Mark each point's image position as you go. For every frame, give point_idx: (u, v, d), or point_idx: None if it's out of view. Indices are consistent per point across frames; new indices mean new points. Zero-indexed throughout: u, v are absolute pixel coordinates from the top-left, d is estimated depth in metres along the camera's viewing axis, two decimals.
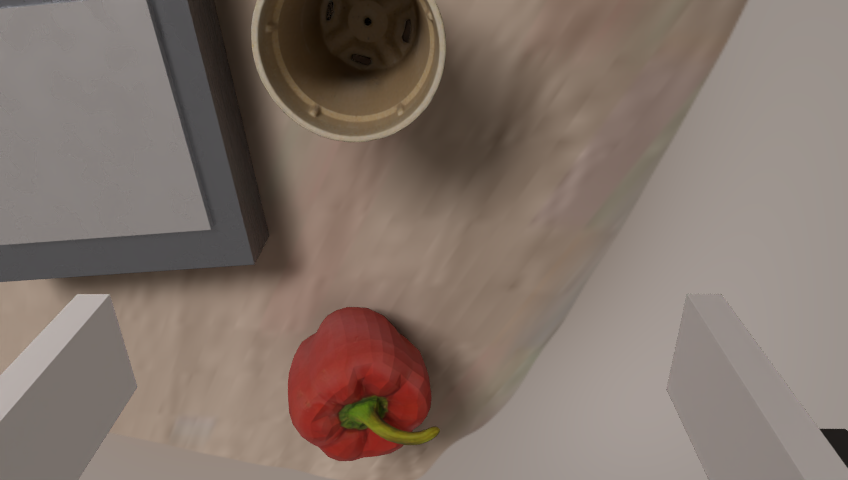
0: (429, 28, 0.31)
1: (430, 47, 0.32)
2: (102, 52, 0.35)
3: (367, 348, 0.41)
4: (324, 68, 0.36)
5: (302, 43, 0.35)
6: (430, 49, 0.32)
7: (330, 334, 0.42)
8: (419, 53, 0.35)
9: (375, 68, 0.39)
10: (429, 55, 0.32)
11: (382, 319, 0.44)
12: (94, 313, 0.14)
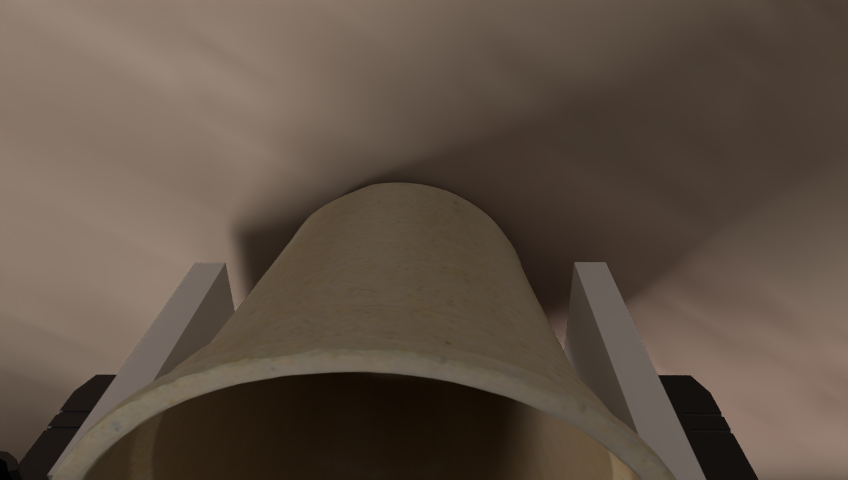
0: None
1: None
2: None
3: None
4: (483, 435, 0.15)
5: None
6: None
7: None
8: None
9: None
10: None
11: None
12: (216, 278, 0.15)
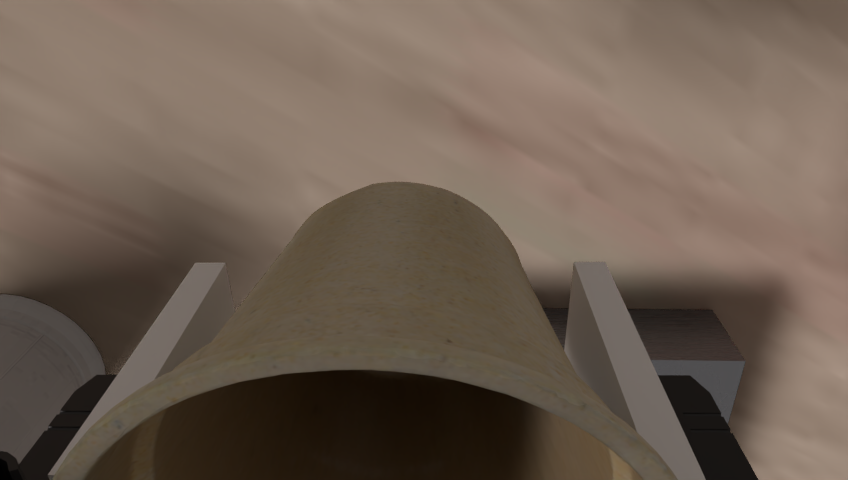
0: None
1: None
2: None
3: None
4: (484, 434, 0.15)
5: None
6: None
7: None
8: None
9: None
10: None
11: None
12: (216, 279, 0.15)
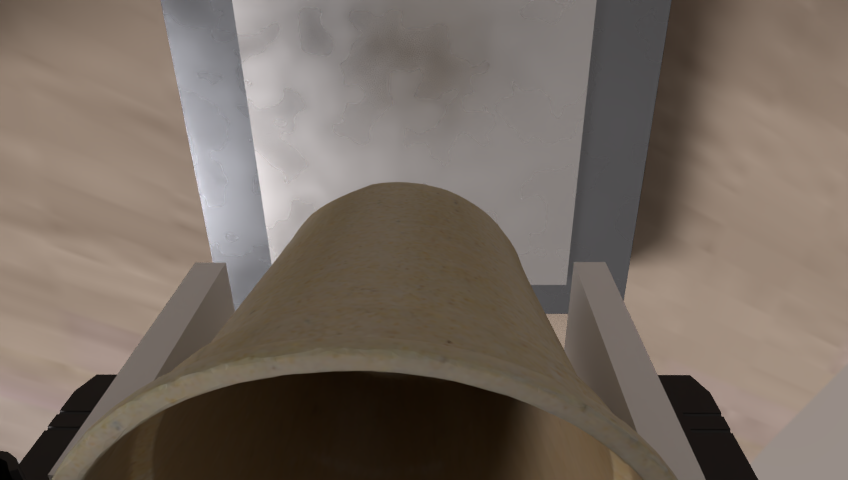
0: None
1: None
2: (307, 57, 0.25)
3: None
4: (484, 435, 0.15)
5: None
6: None
7: None
8: None
9: None
10: None
11: None
12: (216, 279, 0.15)
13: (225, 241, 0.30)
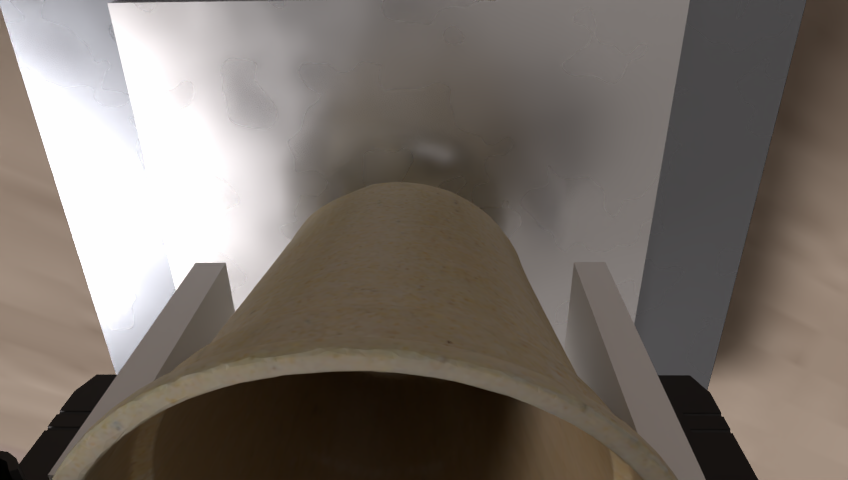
0: None
1: None
2: (238, 130, 0.17)
3: None
4: (484, 435, 0.15)
5: None
6: None
7: None
8: None
9: None
10: None
11: None
12: (216, 278, 0.15)
13: None
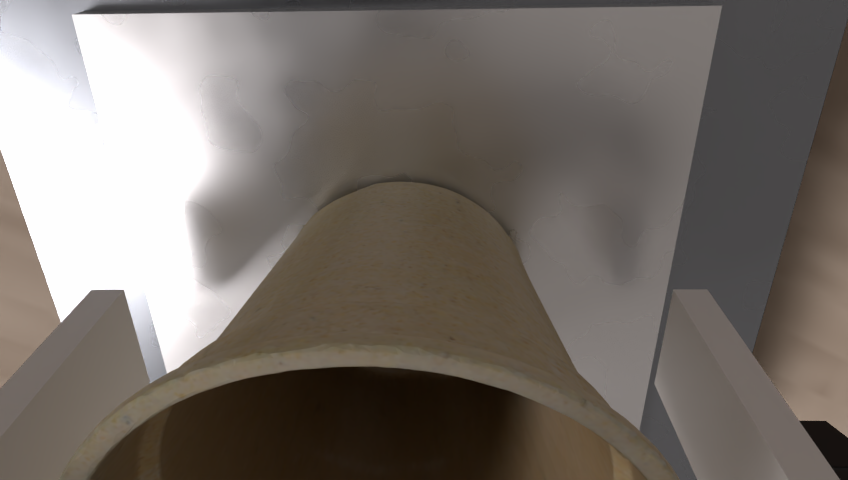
0: None
1: None
2: (219, 154, 0.15)
3: None
4: (485, 432, 0.15)
5: None
6: None
7: None
8: None
9: None
10: None
11: None
12: (109, 308, 0.14)
13: None
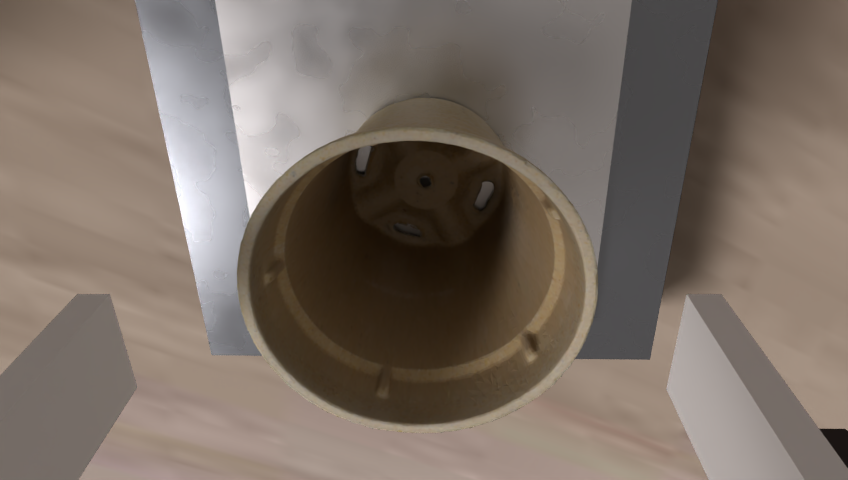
0: None
1: None
2: (302, 79, 0.22)
3: None
4: (481, 270, 0.23)
5: (434, 301, 0.22)
6: None
7: None
8: None
9: (500, 176, 0.24)
10: None
11: None
12: (94, 313, 0.14)
13: (213, 279, 0.27)
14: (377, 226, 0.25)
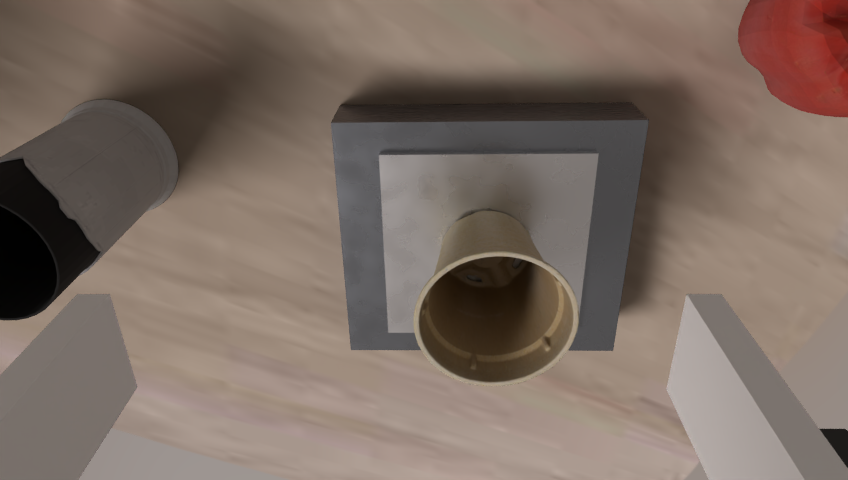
0: None
1: None
2: (422, 200, 0.42)
3: (784, 4, 0.33)
4: (518, 302, 0.42)
5: (493, 320, 0.42)
6: None
7: (757, 50, 0.36)
8: (515, 234, 0.39)
9: None
10: None
11: None
12: (94, 313, 0.14)
13: (357, 305, 0.46)
14: (457, 276, 0.44)
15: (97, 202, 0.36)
